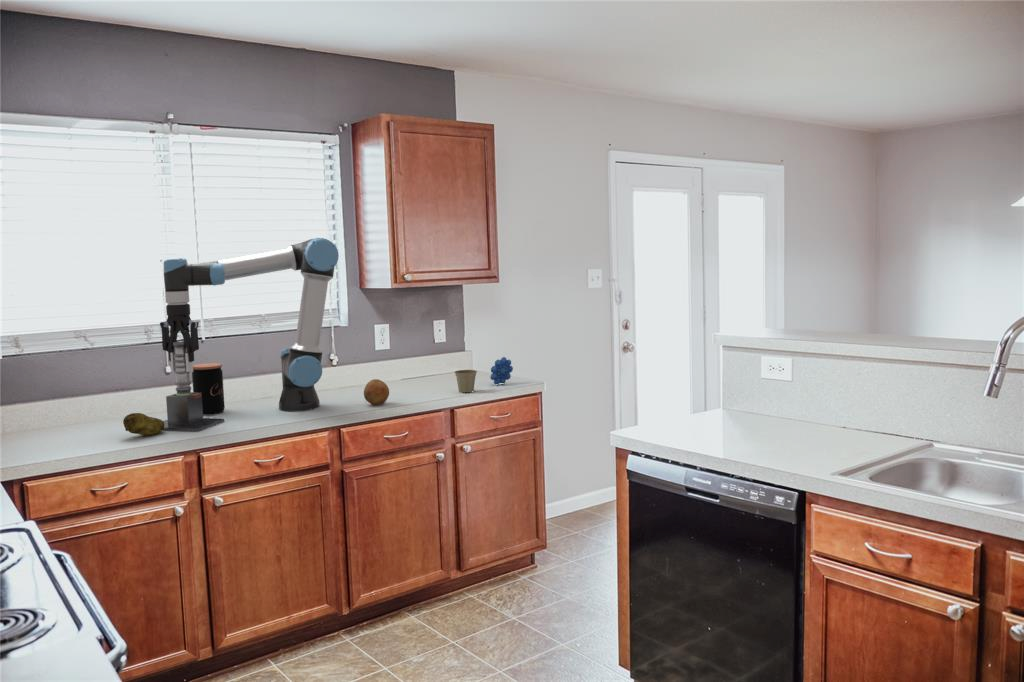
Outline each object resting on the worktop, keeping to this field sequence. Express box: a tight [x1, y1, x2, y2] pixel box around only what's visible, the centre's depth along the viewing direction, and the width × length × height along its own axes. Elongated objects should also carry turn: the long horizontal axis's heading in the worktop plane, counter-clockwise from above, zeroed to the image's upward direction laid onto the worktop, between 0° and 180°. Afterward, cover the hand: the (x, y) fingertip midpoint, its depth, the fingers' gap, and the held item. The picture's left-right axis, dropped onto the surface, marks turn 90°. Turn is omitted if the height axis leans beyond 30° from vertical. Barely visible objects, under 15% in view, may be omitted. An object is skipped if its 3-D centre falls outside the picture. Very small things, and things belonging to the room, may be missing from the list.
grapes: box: [490, 356, 514, 385], centre depth 353 cm, size 12×7×12 cm, turn 125°
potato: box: [122, 412, 164, 437], centre depth 267 cm, size 8×13×8 cm, turn 125°
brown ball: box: [363, 378, 390, 406], centre depth 312 cm, size 10×10×10 cm
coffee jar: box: [191, 362, 225, 416], centre depth 303 cm, size 11×11×18 cm
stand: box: [162, 391, 226, 433], centre depth 281 cm, size 20×16×11 cm
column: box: [173, 340, 193, 396], centre depth 279 cm, size 5×5×22 cm
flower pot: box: [453, 369, 478, 393], centre depth 336 cm, size 9×9×9 cm
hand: (182, 370), depth 279 cm, fingers closed on column, 5 cm apart
